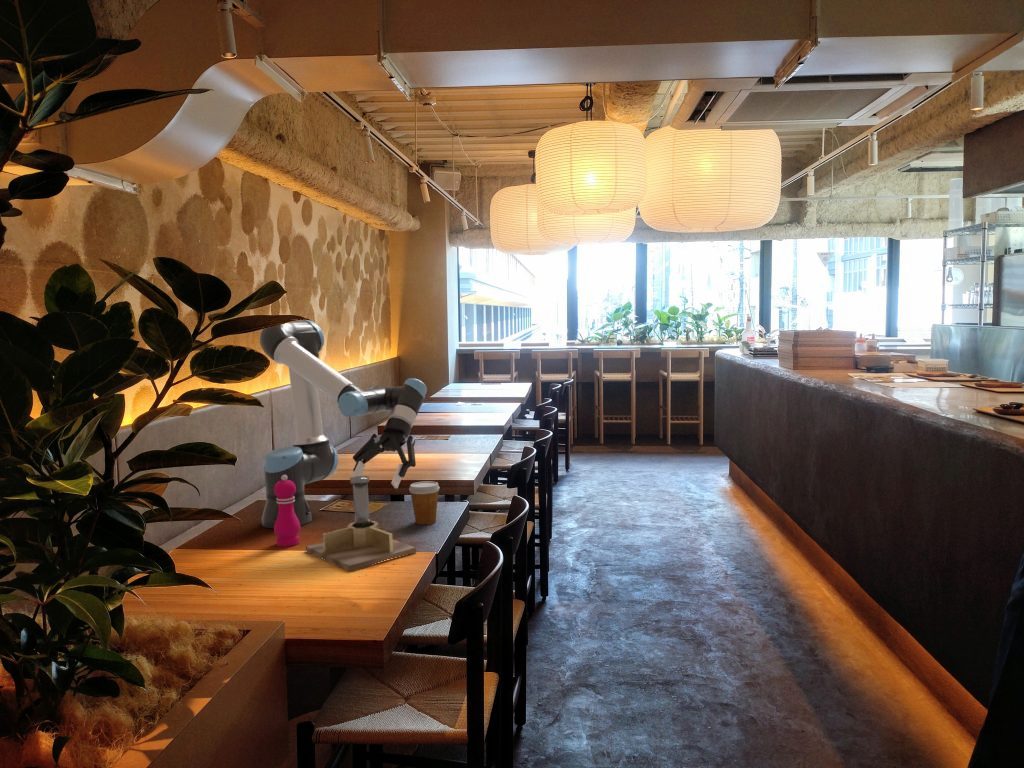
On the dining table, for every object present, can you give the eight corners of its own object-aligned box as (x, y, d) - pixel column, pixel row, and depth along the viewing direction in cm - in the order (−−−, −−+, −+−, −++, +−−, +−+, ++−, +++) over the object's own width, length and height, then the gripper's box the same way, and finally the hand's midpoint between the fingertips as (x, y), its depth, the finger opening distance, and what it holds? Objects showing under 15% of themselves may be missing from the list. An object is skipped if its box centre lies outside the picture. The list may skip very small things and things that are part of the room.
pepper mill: (296, 547, 201) (292, 477, 200) (271, 547, 202) (267, 477, 200) (304, 539, 209) (300, 471, 207) (279, 540, 209) (276, 472, 207)
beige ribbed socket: (317, 549, 194) (316, 531, 193) (368, 536, 205) (368, 519, 204) (351, 563, 181) (350, 544, 180) (404, 549, 191) (403, 531, 191)
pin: (350, 542, 199) (346, 478, 198) (367, 537, 203) (362, 474, 201) (360, 546, 195) (356, 480, 194) (377, 541, 199) (372, 477, 197)
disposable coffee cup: (413, 518, 228) (411, 481, 227) (443, 517, 228) (441, 480, 227) (407, 526, 219) (406, 488, 218) (438, 525, 219) (437, 487, 218)
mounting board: (305, 551, 197) (305, 546, 197) (368, 535, 210) (368, 530, 210) (350, 571, 179) (349, 565, 179) (415, 552, 193) (415, 547, 193)
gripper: (441, 432, 212) (417, 494, 199) (370, 429, 222) (343, 488, 209) (431, 417, 206) (406, 479, 194) (359, 415, 216) (331, 474, 204)
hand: (373, 484), depth 202 cm, fingers open, 13 cm apart
